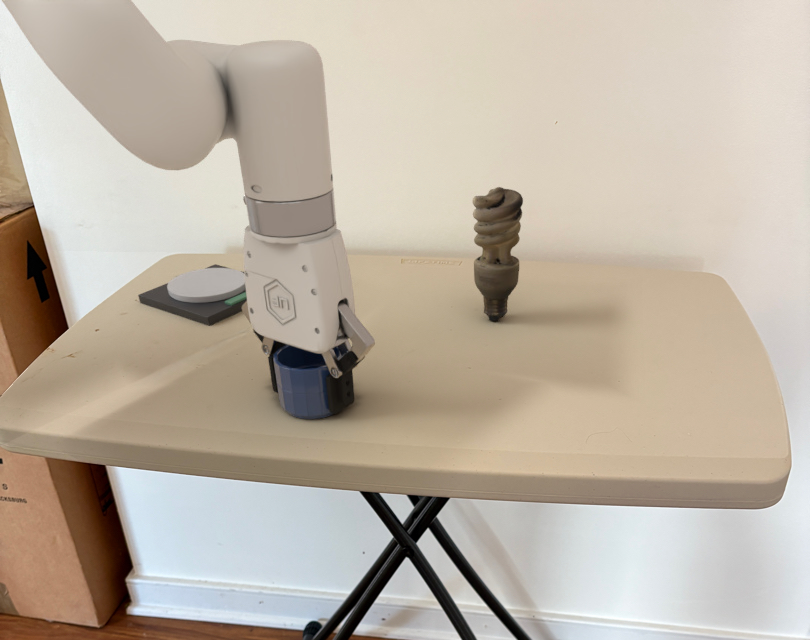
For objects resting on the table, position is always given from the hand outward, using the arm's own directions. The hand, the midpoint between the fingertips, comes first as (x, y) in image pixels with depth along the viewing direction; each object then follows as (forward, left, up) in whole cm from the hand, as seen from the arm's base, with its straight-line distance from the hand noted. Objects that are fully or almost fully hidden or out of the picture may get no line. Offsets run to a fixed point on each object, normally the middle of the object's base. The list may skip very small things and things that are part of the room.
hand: (313, 396), depth 76 cm
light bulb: (+28, -4, -1) cm, 28 cm away
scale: (+12, +28, -1) cm, 30 cm away
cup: (0, 0, -1) cm, 1 cm away
